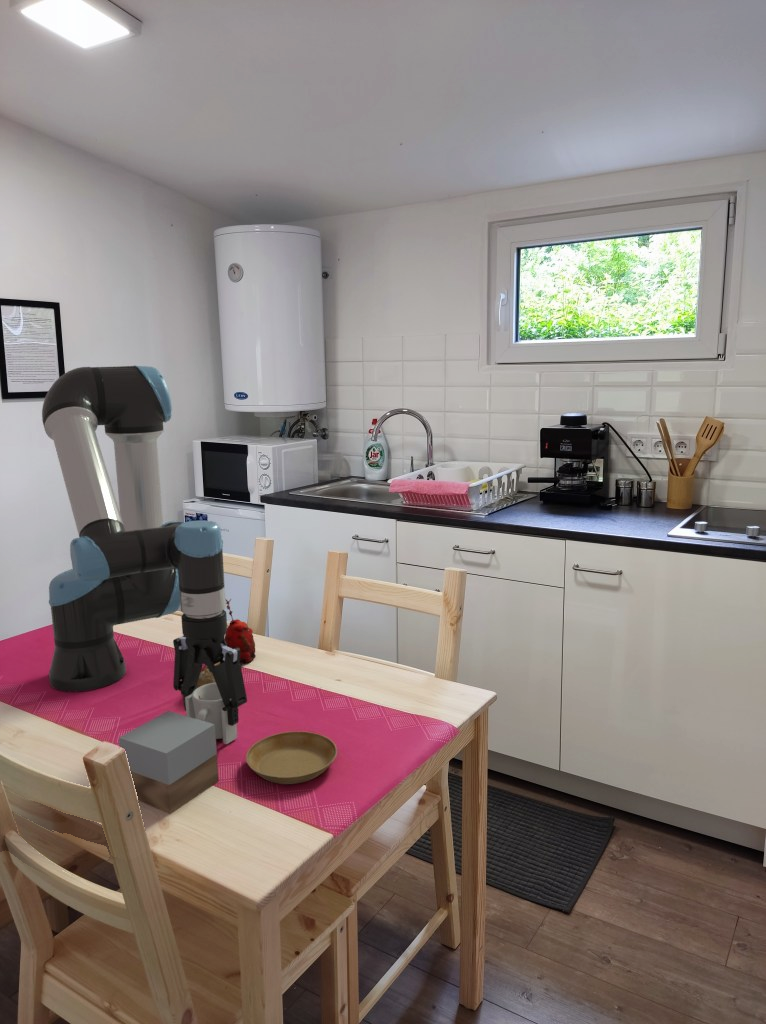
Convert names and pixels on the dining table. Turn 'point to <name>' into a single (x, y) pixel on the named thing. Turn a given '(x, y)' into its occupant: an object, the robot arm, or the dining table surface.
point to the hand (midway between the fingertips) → (212, 734)
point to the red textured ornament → (240, 638)
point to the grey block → (169, 746)
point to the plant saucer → (291, 756)
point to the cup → (209, 706)
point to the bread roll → (206, 677)
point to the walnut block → (176, 787)
